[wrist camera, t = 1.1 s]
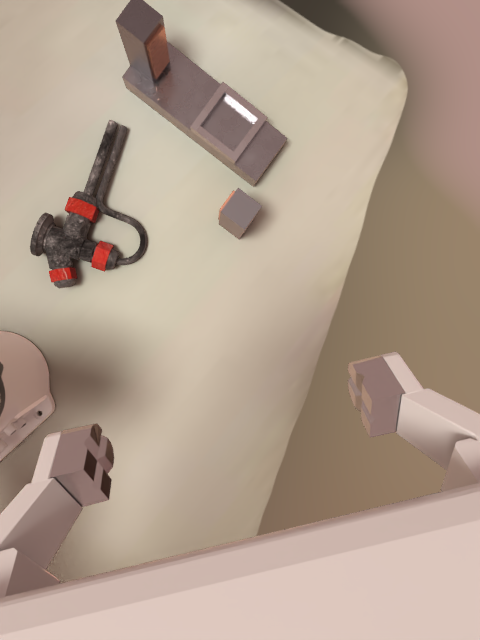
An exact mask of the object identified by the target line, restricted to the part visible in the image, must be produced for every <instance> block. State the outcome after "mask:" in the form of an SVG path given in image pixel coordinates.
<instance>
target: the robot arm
mask: <svg viewBox="0 0 480 640" xmlns="http://www.w3.org/2000/svg"><path fill="white" fill-rule="evenodd" d="M348 372H349V374H350V376H351V377H350V379H349V380H348V388H349V394H350V397H351V400H352V402H353V405H354V407H355V409H357V410H359V411H360V412H361V421H362V423H363V425H364V427H365V429H366V431H367V433H368V435H369V437H374V436H379V435H384V434H388V433H393V432H397V434H398V435H400V436H401V437H402V438H404V439H405V440H406V441H408V442H409V443H410V444H412V445H413V446H414V447H416V448H417V449H419V450H420V451H421V452H423V453H424V454H425V455H427V456H428V457H429V458H431V459H432V460H433V461H435V462H436V463H438V464H439V465H440V466H441V467H443V468H444V469H446V470H447V472H446V475H445V478H444V482H443V484H442V488H441V491H442V492H438V493H434V494H430V495H426V496H422V497H417V498H413V499H409V500H405V501H401V502H397V503H392V504H388V505H384V506H380V507H376V508H372V509H368V510H363V511H359V512H355V513H351V514H347V515H343V516H338V517H334V518H330V519H326V520H322V521H317V522H314V523H309V524H305V525H301V526H297V527H292V528H288V529H284V530H280V531H276V532H272V533H268V534H263V535H259V536H255V537H251V538H247V539H243V540H238V541H234V542H230V543H226V544H222V545H218V546H213V547H209V548H205V549H201V550H197V551H193V552H189V553H184V554H180V555H176V556H172V557H168V558H164V559H160V560H155V561H151V562H147V563H143V564H139V565H135V566H131V567H126V568H122V569H118V570H114V571H110V572H106V573H102V574H97V575H93V576H89V577H85V578H81V579H77V580H72V581H68V582H64V583H60V581H59V580H58V578H56V577H55V576H54V575H52V574H51V573H49V572H48V571H46V569H47V567H48V565H49V564H50V562H51V560H52V559H53V557H54V555H55V554H56V552H57V550H58V549H59V547H60V545H61V544H62V542H63V540H64V539H65V537H66V535H67V534H68V532H69V531H70V529H71V527H72V526H73V524H74V522H75V521H76V519H77V517H78V516H79V514H80V512H81V511H82V509H83V508H82V507H84V506H88V505H92V504H95V503H99V502H103V501H107V500H109V496H110V488H111V478H110V477H109V475H108V473H109V471H110V470H111V469H112V467H113V463H114V453H113V447H112V445H111V442H110V441H109V439H108V438H107V437H105V436H102V435H101V433H102V429H101V428H100V426H99V425H98V424H91V425H87V426H82V427H77V428H72V429H68V430H63V431H59V432H55V433H50V434H48V435H47V436H46V437H45V439H44V442H43V445H42V448H41V452H40V455H39V458H38V462H37V465H36V468H35V472H34V475H33V478H32V482H31V483H29V484H26V485H25V486H24V488H23V489H22V490H21V491H20V492H19V493H18V495H17V496H16V497H15V498H14V499H13V500H12V501H11V503H10V504H9V505H8V506H7V507H6V508H5V509H4V511H3V512H2V513H1V514H0V640H480V414H479V413H477V412H475V411H473V410H471V409H469V408H467V407H465V406H463V405H461V404H459V403H457V402H455V401H453V400H451V399H449V398H447V397H445V396H443V395H441V394H439V393H437V392H435V391H433V390H431V389H429V388H427V389H423V387H422V386H421V384H420V383H419V382H418V380H417V379H416V377H415V376H414V374H413V373H412V372H411V370H410V369H409V367H408V366H407V364H406V363H405V362H404V360H403V359H402V358H401V356H400V355H399V353H397V352H391V353H387V354H383V355H380V356H379V355H378V356H374V357H370V358H366V359H362V360H358V361H354V362H350V363H349V365H348ZM54 410H55V403H54V400H53V398H52V395H51V393H50V389H49V370H48V366H47V363H46V361H45V358H44V357H43V355H42V353H41V352H40V351H39V349H38V348H37V347H36V346H35V345H34V344H33V343H32V342H30V341H29V340H28V339H26V338H24V337H22V336H20V335H18V334H15V333H12V332H6V331H0V461H1V460H2V459H3V458H4V457H6V456H7V455H8V454H9V453H10V452H11V451H12V450H13V449H14V448H15V447H16V446H17V445H19V444H20V443H21V442H22V441H23V440H24V439H25V438H26V437H27V436H28V435H29V434H30V433H32V432H33V431H34V430H35V429H36V428H37V427H38V426H39V425H40V424H41V423H42V422H43V421H45V420H46V419H47V418H48V417H49V416H50V415H51V414H52V413H53V412H54ZM39 411H41V412H42V415H40V414H39Z"/></svg>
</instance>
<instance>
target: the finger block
mask: <svg viewBox="0 0 480 640" xmlns="http://www.w3.org/2000/svg"><path fill="white" fill-rule="evenodd" d="M261 207H262V206H261V205H260V204H259V203H257V202H256V201H255V200H254V199H252V198H251V197H250V196H248V195H247V194H246V193H244V192H243V191H242V190H241V189H239V188H238V189H237V190H236V191H234V190H233V192H232V193H231V194H230V196H229V197H228V199H227V200H226V201H225V203H224V204H223V205H222V207H221V208H220V211H219V218H218V219H219V225H221V226H222V227H223V228H225V229H226V230H227V231H228V232H230V233H231V234H232V235H234V236H235V237H236V238H238V239H240V237H241V236H242V235H243V233H244V232H245V231H246V229H247V228H248V226H249V225H250V224H251V222H252V221H253V220H254V218H255V216H256V215H257V213H258V212H259V210H260V208H261Z"/></svg>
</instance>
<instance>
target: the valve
mask: <svg viewBox="0 0 480 640" xmlns="http://www.w3.org/2000/svg"><path fill="white" fill-rule="evenodd" d="M117 125H118V124H117V123H116V122H114V121H112V120H109V122H108V125H107V128H106V131H105V134H104V136H103V139H102V142H101V145H100V148H99V150H98V153H97V156H96V159H95V162H94V164H93V167H92V170H91V173H90V176H89V179H88V181H87V184H86V187H85V190H84V192H80V191H78V192H76V193H75V194H74V196H73V197H72V198H71V197H69V199H68V202H67V205H66V207H65V211H67V212H68V213H69V215H67V218H66V221H65V224H64V227H63V229H61V228H59V227H56V225H55V223H54V219H53V216H52V215H51V214H48V213H44V214H43V215H42V216H41V217H40V218H39V220H38V222H37V224H36V226H35V228H34V231H33V234H32V238H31V245H30V250H31V253H32V254H33V255H36V256H40V255H41V254H42V253H43V252H45V251H46V255H47V259H48V263H49V268H50V269H52V270H51V271H49V274H50V278H51V282H54V285H55V286H57V287H58V288H64V287H70V286H73V285H74V284H75V283H76V280H75V279H77V274H76V270H75V268H72V267H71V266H73V264H72V259H71V258H73V259H76V260H80V259H82V260H85V261H88V262H90V263H91V262H92V267H93V268H96V269H99V270H102V271H105V270H106V269H114V268H115V266H116V264H118V265H127V264H131V263H133V262H135V261H137V260H138V259H139V258H140V257H141V256H142V255H143V253H144V251H145V249H146V245H147V238H146V234H145V231H144V229H143V227H142V226H141V225H140V224H139V223H138V222H137V221H136V220H135V219H133V218H131V217H129V216H126V215H124V214H121V213H118V212H116V211H113V210H111V209H108V208H106V207H105V206H104V205H103V197H104V194H105V191H106V188H107V186H108V183H109V180H110V177H111V174H112V171H113V168H114V166H115V163H116V160H117V157H118V154H119V151H120V149H121V146H122V143H123V140H124V137H125V134H126V131H127V127H125V126H123V125H121V127H120V130H119V133H118V136H117V138H116V141H115V144H114V147H113V150H112V153H111V155H110V158H109V161H108V164H107V167H106V170H105V173H104V175H103V178H102V181H101V184H100V187H99V190H98V193H97V195H96V198H95V197H93V193H94V190H95V188H96V185H97V182H98V179H99V176H100V173H101V171H102V168H103V165H104V162H105V159H106V156H107V154H108V151H109V148H110V145H111V142H112V140H113V137H114V134H115V131H116V128H117ZM98 209H99V210H100V211H101V212H102V213H104V214H106V215H108V216H111V217H113V218H116V219H119V220H121V221H124V222H126V223H129V224H131V225H132V226H133V227H135V229H136V230H137V231H138V233H139V235H140V247H139V249H138V251H137V252H136V253H135V254H134V255H133V256H131V257H129V258H124V259H120V258H119V253H118V252H117V251H116V250H114V249H113V245H111V244H108V243H105V242H103V241H100V242H99V244H97V243H95V242H92V241H89V240H87V238H86V236H87V233H88V230H89V228H90V225H91V224H90V222H93V223H95V222H96V219H97V216H98V213H99V210H98Z"/></svg>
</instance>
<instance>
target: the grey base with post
mask: <svg viewBox="0 0 480 640" xmlns="http://www.w3.org/2000/svg"><path fill="white" fill-rule="evenodd" d="M116 24H117V27H118V30H119V33H120V36H121V39H122V42H123V45H124V48H125V51H126V54H127V57H128V60H129V63H130V67H129V68H128V70H127V71H126V72H125V74H124V75H123V77H122V78H123V80H124V83H125V85H126V88H127V89H128V90H130V91H131V92H132V93H133V94H135V95H136V96H137V97H139V98H140V99H141V100H142V101H144V102H145V103H146V104H148V105H149V106H150V107H151V108H153V109H154V110H155V111H157V112H158V113H159V114H160V115H162V116H163V117H164V118H166V119H167V120H168V121H169V122H171V123H172V124H173V125H175V126H176V127H177V128H178V129H180V130H181V131H182V132H184V133H185V134H186V135H187V136H189V137H190V138H191V139H193V140H194V141H195V142H196V143H198V144H199V145H200V146H202V147H203V148H204V149H205V150H207V151H208V152H209V153H211V154H212V155H213V156H214V157H216V158H217V159H218V160H220V161H221V162H222V163H223V164H225V165H226V166H227V167H229V168H230V169H231V170H232V171H234V172H235V173H236V174H238V175H239V176H240V177H241V178H243V179H244V180H245V181H247V182H248V183H249V184H250V185H252V186H253V187H254V186H255V184H256V183H257V182H258V180H259V179H260V177H261V176H262V175H263V173H264V172H265V171H266V169H267V168H268V166H269V165H270V164H271V162H272V161H273V160H274V158H275V157H276V155H277V154H278V153H279V151H280V150H281V149H282V147H283V146H284V144H285V142H286V140H287V138H286V137H285V136H284V135H283V134H281V133H280V132H279V131H278V130H276V129H275V128H274V127H273V126H271V125H270V124H269V123H268V122H267V121H266V120H267V117H266V116H265V115H264V114H262V113H261V112H260V111H259V110H258V109H256V108H255V107H254V106H253V105H251V104H250V103H249V102H248V101H246V100H245V99H244V98H243V97H241V96H240V95H239V94H238V93H236V92H235V91H234V90H233V89H231V88H230V87H229V86H228V85H227V84H225V83H224V82H222V84H219V83H218V82H217V81H216V80H214V79H213V78H212V77H211V76H209V75H208V74H207V73H206V72H204V71H203V70H202V69H201V68H199V67H198V66H197V65H196V64H194V63H193V62H192V61H191V60H189V59H188V58H187V57H186V56H184V55H183V54H182V53H181V52H180V51H178V50H177V49H176V48H175V47H173V46H172V45H171V44H170V43H168V42H167V40H166V34H165V28H164V21H163V16H162V15H160V14H159V13H158V12H157V11H156V10H154V9H153V8H152V7H151V6H149V5H148V4H147V3H146V2H144V1H143V0H130V2H129V3H128V5H127V6H126V7H125V9H124V10H123V11H122V13H121V14H120V16H119V17H118V18H117V20H116Z"/></svg>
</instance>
